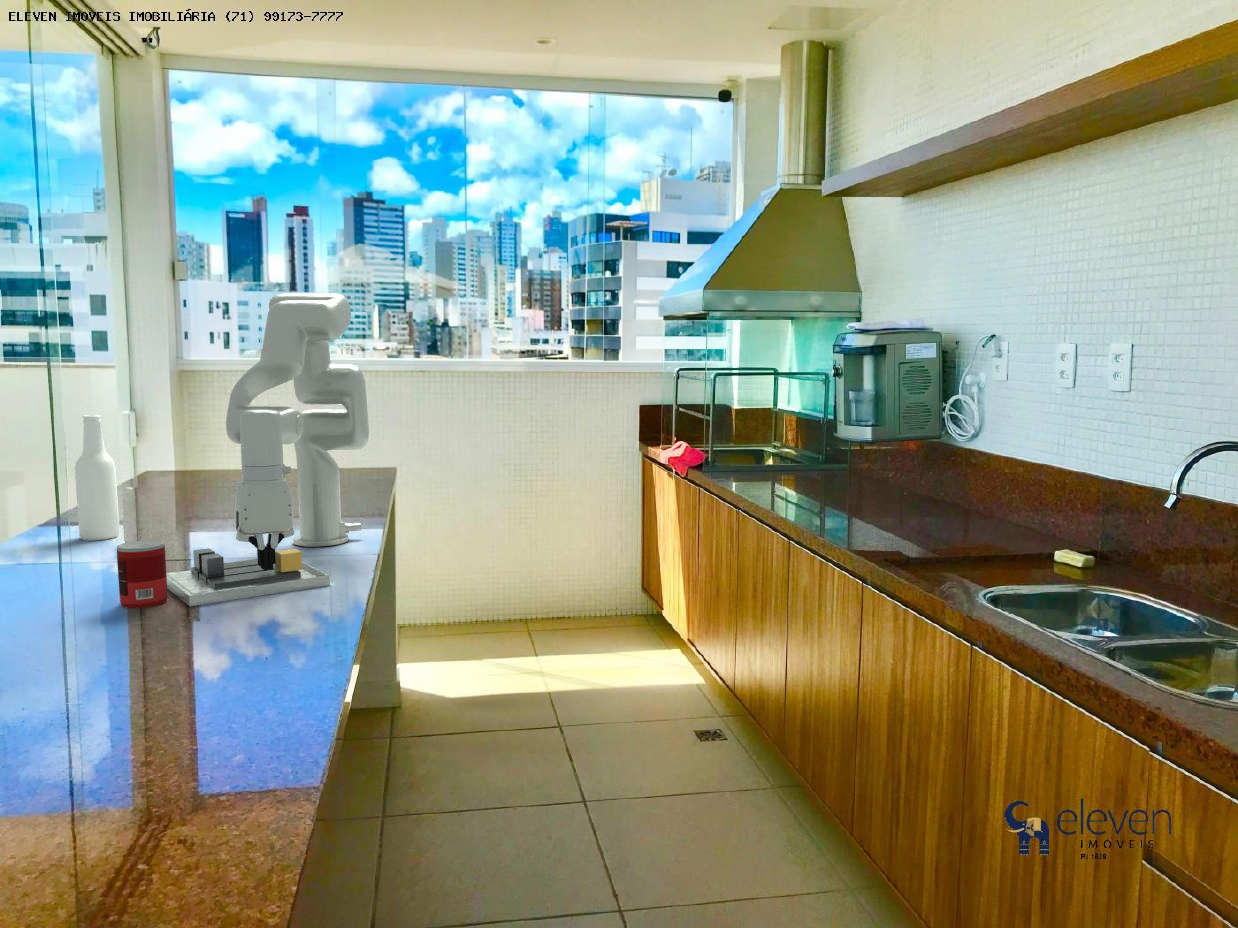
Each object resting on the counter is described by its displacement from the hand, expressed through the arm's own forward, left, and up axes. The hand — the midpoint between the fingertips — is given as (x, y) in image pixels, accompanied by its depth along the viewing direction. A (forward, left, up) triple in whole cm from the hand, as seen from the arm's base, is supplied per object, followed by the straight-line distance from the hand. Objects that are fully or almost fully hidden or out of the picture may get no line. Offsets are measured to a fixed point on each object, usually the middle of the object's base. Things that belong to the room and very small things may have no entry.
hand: (266, 568), depth 190 cm
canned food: (+21, -3, -4) cm, 22 cm away
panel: (+2, -6, -4) cm, 8 cm away
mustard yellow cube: (-4, 0, -1) cm, 4 cm away
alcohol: (+16, -77, -4) cm, 79 cm away
